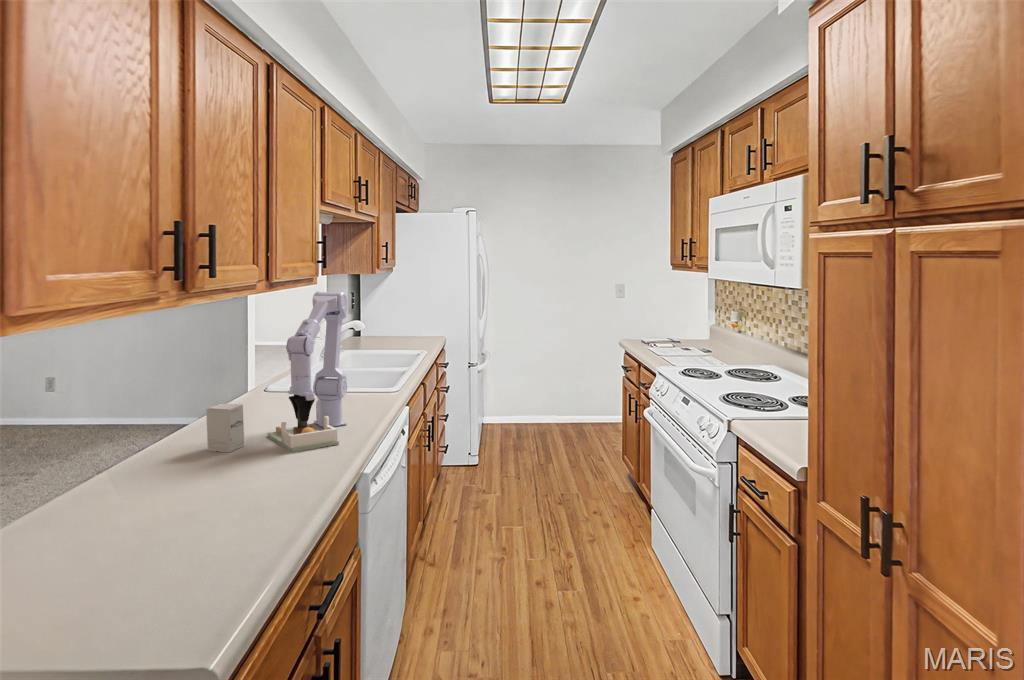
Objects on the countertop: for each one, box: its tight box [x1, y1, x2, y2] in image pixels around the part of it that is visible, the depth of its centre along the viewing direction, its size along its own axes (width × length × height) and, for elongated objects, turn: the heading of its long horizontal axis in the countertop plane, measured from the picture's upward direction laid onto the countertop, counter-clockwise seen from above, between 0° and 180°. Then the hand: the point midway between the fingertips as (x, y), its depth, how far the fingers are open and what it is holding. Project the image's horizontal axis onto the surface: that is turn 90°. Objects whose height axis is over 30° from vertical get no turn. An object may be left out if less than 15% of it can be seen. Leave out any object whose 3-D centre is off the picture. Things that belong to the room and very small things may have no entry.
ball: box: [301, 427, 315, 434], centre depth 204 cm, size 4×4×4 cm
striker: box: [293, 410, 313, 435], centre depth 207 cm, size 3×5×8 cm, turn 127°
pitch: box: [267, 416, 340, 453], centre depth 207 cm, size 22×14×7 cm, turn 37°
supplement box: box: [205, 403, 245, 453], centre depth 198 cm, size 7×7×13 cm
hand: (302, 419), depth 207 cm, fingers closed on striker, 3 cm apart
